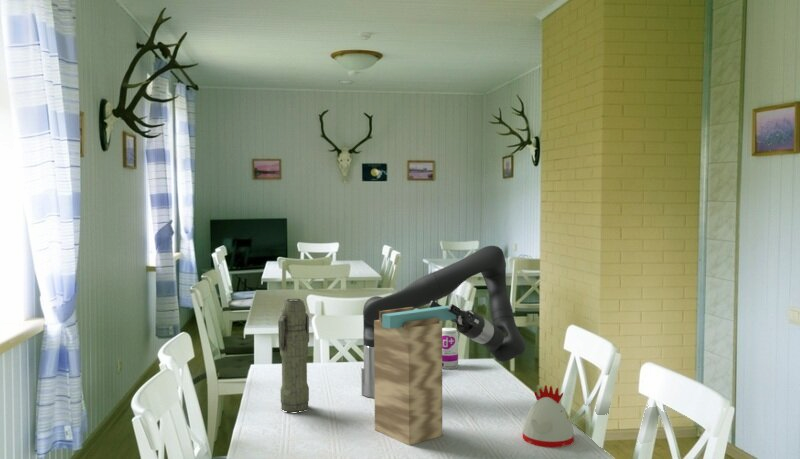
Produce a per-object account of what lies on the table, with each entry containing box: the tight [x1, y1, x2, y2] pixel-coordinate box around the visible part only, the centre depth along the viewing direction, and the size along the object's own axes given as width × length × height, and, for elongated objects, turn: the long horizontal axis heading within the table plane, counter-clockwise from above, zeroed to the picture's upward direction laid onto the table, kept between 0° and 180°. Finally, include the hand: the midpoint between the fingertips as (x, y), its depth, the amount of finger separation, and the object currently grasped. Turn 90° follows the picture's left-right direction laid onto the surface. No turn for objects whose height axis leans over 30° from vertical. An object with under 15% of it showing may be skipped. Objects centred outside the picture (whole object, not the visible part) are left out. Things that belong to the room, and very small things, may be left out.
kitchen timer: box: [522, 384, 575, 448], centre depth 200 cm, size 14×14×15 cm
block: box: [382, 304, 456, 329], centre depth 203 cm, size 24×4×4 cm, turn 128°
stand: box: [374, 307, 443, 446], centre depth 205 cm, size 12×16×35 cm
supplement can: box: [442, 327, 459, 370], centre depth 282 cm, size 8×8×15 cm
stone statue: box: [277, 298, 310, 413], centre depth 228 cm, size 9×12×35 cm
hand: (440, 305), depth 207 cm, fingers open, 8 cm apart
